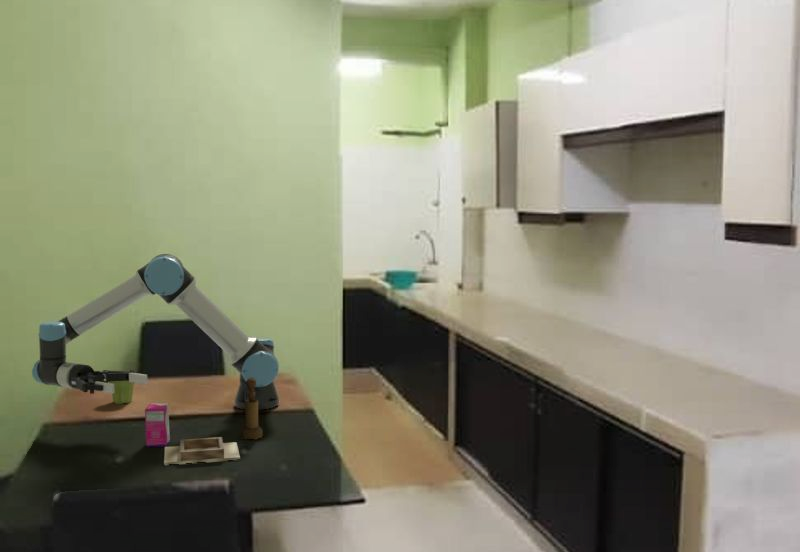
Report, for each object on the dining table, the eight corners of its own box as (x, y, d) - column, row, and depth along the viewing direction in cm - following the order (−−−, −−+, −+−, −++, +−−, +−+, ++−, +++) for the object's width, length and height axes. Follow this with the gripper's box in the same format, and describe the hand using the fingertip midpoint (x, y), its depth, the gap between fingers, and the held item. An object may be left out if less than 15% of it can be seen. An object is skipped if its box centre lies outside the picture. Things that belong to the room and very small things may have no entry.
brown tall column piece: (266, 435, 249) (266, 376, 248) (256, 441, 243) (255, 381, 241) (247, 432, 252) (246, 374, 250) (236, 438, 245) (235, 379, 244)
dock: (236, 444, 239) (236, 433, 239) (239, 459, 226) (239, 448, 226) (164, 449, 234) (164, 438, 234) (164, 465, 221) (164, 453, 220)
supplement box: (149, 441, 242) (148, 403, 241) (170, 441, 243) (169, 403, 241) (145, 447, 236) (144, 408, 235) (166, 447, 237) (165, 408, 236)
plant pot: (127, 406, 281) (127, 381, 281) (102, 404, 283) (102, 379, 282) (141, 399, 291) (141, 375, 290) (117, 397, 292) (116, 373, 292)
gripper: (107, 380, 262) (159, 387, 253) (43, 397, 240) (98, 406, 231) (106, 357, 262) (159, 363, 253) (43, 371, 239) (98, 379, 230)
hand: (130, 384), depth 242 cm, fingers open, 13 cm apart
